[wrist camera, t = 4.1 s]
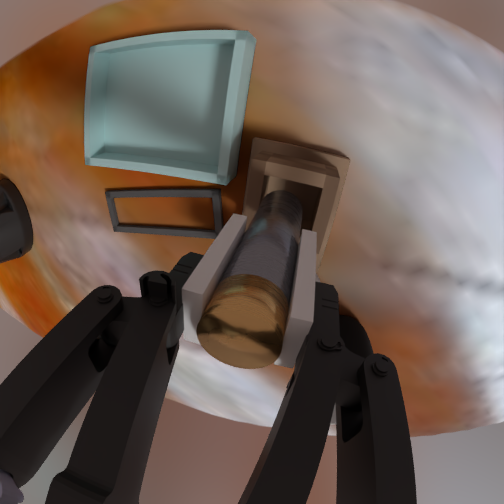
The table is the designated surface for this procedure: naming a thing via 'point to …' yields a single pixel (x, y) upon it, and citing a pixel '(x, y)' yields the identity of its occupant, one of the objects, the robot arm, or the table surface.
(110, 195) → the dark gray rectangular frame
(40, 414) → the robot arm
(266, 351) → the pin
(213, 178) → the tray
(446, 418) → the table surface
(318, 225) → the tensioner block
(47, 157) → the table surface
